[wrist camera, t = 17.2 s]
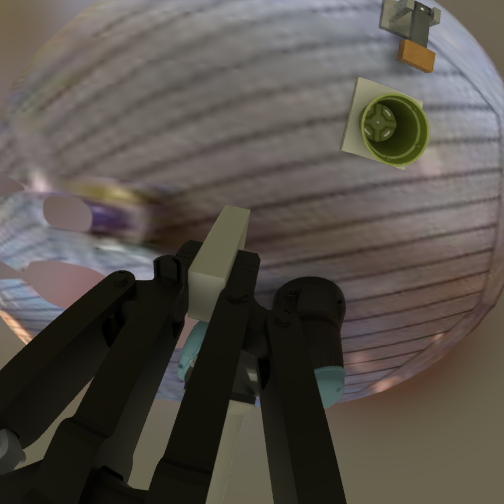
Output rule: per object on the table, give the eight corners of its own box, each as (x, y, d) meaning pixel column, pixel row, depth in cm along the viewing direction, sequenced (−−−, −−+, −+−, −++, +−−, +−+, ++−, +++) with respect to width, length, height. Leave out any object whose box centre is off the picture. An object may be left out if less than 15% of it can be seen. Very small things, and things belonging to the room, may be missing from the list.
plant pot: (416, 126, 33) (442, 136, 26) (376, 164, 38) (394, 181, 30) (376, 80, 31) (396, 77, 24) (334, 120, 35) (345, 126, 28)
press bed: (401, 168, 39) (404, 170, 37) (340, 148, 39) (341, 150, 38) (419, 101, 32) (423, 102, 31) (356, 77, 32) (358, 76, 31)
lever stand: (418, 44, 27) (445, 36, 19) (378, 27, 27) (398, 13, 19) (422, 16, 23) (447, 4, 16) (382, -1, 24) (401, -19, 16)
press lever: (424, 72, 24) (432, 72, 22) (396, 60, 24) (402, 58, 23) (432, 13, 19) (439, 9, 17) (404, -1, 19) (410, -5, 17)
